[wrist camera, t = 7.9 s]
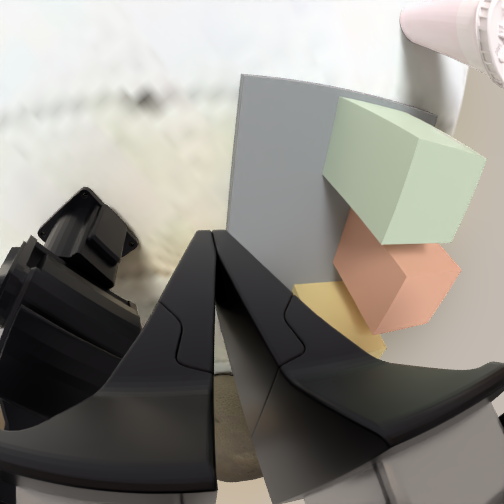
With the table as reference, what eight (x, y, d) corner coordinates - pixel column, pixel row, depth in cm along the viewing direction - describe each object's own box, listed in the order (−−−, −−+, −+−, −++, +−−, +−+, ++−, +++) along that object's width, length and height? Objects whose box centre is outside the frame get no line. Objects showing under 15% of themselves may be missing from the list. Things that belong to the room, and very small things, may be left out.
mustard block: (282, 324, 32) (305, 394, 26) (293, 284, 29) (324, 361, 22) (332, 318, 34) (360, 382, 27) (349, 280, 30) (386, 347, 23)
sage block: (322, 174, 22) (381, 244, 15) (339, 96, 18) (419, 138, 12) (386, 180, 23) (450, 242, 17) (406, 112, 19) (486, 158, 13)
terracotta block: (332, 262, 28) (372, 335, 21) (351, 205, 24) (406, 276, 18) (383, 259, 29) (427, 323, 23) (405, 208, 25) (461, 270, 19)
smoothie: (441, 68, 18) (583, 134, 8) (381, 50, 17) (549, 107, 6) (447, 3, 14) (594, 39, 4) (386, -24, 13) (556, -17, 2)
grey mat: (219, 323, 32) (221, 332, 31) (241, 74, 17) (244, 76, 16) (353, 309, 35) (357, 317, 35) (428, 112, 21) (437, 116, 20)
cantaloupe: (173, 401, 42) (184, 492, 31) (178, 353, 34) (192, 476, 23) (260, 398, 47) (281, 481, 35) (289, 351, 38) (323, 457, 27)
